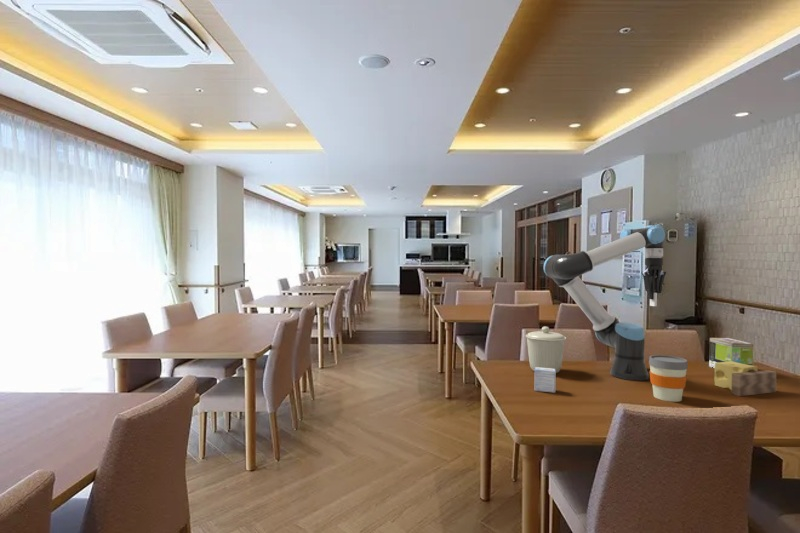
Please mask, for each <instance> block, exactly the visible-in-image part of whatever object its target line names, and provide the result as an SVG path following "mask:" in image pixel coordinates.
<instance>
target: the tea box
mask: <svg viewBox="0 0 800 533" xmlns="http://www.w3.org/2000/svg"><path fill="white" fill-rule="evenodd" d="M708 356H709V359H708V360H709V361H708V362H709V363H708V367H709V368H712V367H713V368H712V369H715V363H718V362H729V361H733V362H737V363H741V364H746V365H752V366H754V343H752V342H749V341H748V342H747V341H743V340H739V339H735V338H729V337H709V355H708Z"/></svg>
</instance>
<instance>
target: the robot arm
mask: <svg viewBox="0 0 800 533" xmlns="http://www.w3.org/2000/svg"><path fill="white" fill-rule="evenodd" d="M665 238H666V232H665V230H664V226H663V225H662V224H659V225H658V224H655V225H654V224H653V225H649V224H648V225H646V226H645V227H643V228H635V229H633V228H632V229H631V228H628V229H623V230H621V232H620V234H619V238H618V239H616V240H614V241H610V242H608V243H606V244H603V245H600V246H598V247H596V248H592V249H590V250H588V251H586V250H581V251H579V252H575V253H569V254H558V253H557V254H553V255H550V256H548V257H547V258H546V259H545V261H544V263H543V272H544V274H545V276H547V277H548V278H550V279H552V280H553V281H554V283H555V284H556V285H557V286H558V287H559V288H564V290H565V291H566V292H567V293H568V295H569V296H570V297H571V298H572V300H573V301H574V302H575V303H576V304H577V307H579V308H580V309H581V311H582V312H583V313H584V314H585V316H586V317H587V319H588V320H589V321H590V322H591V323H592V330H593V331H594V333H595V337H596V338H597V340H598V341H599V342H600V343H602V344H603V345H606V346H609V347H612V348H614V359H613V362H612V365H611V367H610V372H609V373H610V375H611V376H613V377H615V378H618V379H623V380H627V381H628V380H629V381H646V380H647V381H648V380H649V379H650V373H649V371H648V369H647V365H646V362H645V347H646V346H645V344H646V342H645V341H646V340H645V339H646V333H645V328H644V327H643V326H642V325H639V324H636V323H632V322H626V321H625V322H624V321H623V322H621V321H619V319H618V317H616V316H615V315H614V314H610V313H609V312H608V311H607V310H606V309H605V308H604V306H603V305H602V304H601V302H600V301H599V300H598V298H597V297H595V295H594V294H593V293H592V291H591V290H590V289H589V288H588V286H587V285H586V284H585V283H584V281H583V280H582V279H581V278H580V276H582V275H584V274H586V273H588V272H591V271H593V269H594V268H595V267H598V266H600V265H603V264H605V263H608V262H611V261H612V260H614V259H616V260H617V259H618V258H620V257H623V256H626V255H628V254H630V253H633V252H635V251H638V250H641V249H642V248H644V257H645V259H644V265H645V266H646V268H645V270H644V271H641V275H642V279H643V283H644V290H645V291H646V292H647V293H648V299H649V306H650V307H658V298H659V297H658V295H659V293H661V292H662V290H663V285H664V282H665V276H666V274H667V271H664V270H663V268H662V266H663V265H664V258H663V257H664V240H665Z"/></svg>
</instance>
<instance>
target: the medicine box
mask: <svg viewBox="0 0 800 533" xmlns="http://www.w3.org/2000/svg"><path fill="white" fill-rule="evenodd" d="M556 374H557V373H556V371H555V369H552V368H540V367H535V371H534V391H535V392H545V393H556V376H557V375H556Z"/></svg>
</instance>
